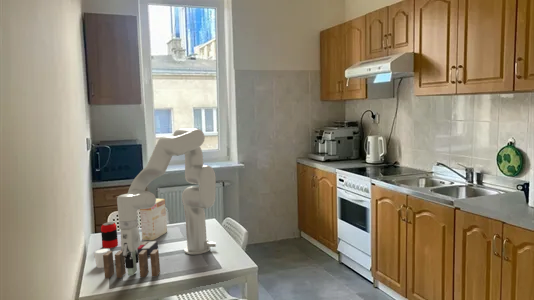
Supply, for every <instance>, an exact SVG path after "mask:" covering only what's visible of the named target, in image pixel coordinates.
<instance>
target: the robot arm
mask: <svg viewBox="0 0 534 300" xmlns="http://www.w3.org/2000/svg"><path fill="white" fill-rule="evenodd" d="M204 142H205V134H204V132H203V131H202V130H201V129H199V128H178V129H175V131H174V133H173V135H172V136H162V137H160V138H159V139H158V140H157V142H156V145H155V146H154V149H153V151H152V153H151V154H150V155H151V156H150V158H149V160H148V162H147V165H146V166H145V167H144V168H143V169H142V170H140V172H139V173H138V174H137V175H136V176H135V178H134V179H133V180H132V182H131V184H130V186H129V189H128V190H127V191H128V192H127V193H124V194H120V195H118V196H117V198H116V203H117V204H116V205H117V215H118V226H119V229H120V247H121V249H122V252H123V256H124V257H125V269H128V268H133V267H134V265H133V259H132V252H134V251H135V252H136V253H138V250H137V248H138V247H139V246H140V244H141V243H140V242H141V237H140V229H139V220H138V219H139V218H138V211H140V209H149V208H151V207H153V206H154V204H155V203H156V199H157V198H156V195H155V194H154V193H153V192H150V191H147V187H148V186H149V184H150V183H151V182H152V181H154V180H157V179H158V178H160V177H161V176H164V174H166V172H167V169H168V167H169V165H170V162H171V160H172V157H173V156H174V157H177V156H182V155H184V161H185V162H184V178H185V181H186V182H187V183H189V184H192V186H188V187H186V188H184V190H183V191H182V194H181V200H182V205H183V208H184V209H183V210H184V217H185V218H184V219H185V232H186V244H187V246H186V247H184V249H183V250H184V253H185V254H187V255H192V256H193V255H195V256H196V255H202V254H205V253H208V252H209V251H210V250H211V248H216V246H217V245H216V244H217V243H216V242H215V241H209V239H208V238H207V224H206V213H205V209H210V208H212V207H213V205H214V204H215V202H216V192H217V191H216V187H217V186H216V184H217V183H216V181H217V180H216V179H217V178H216V173H215V170H214V168H213V167H212V166H210V165H208V164H204V158H203V157H204V155H203V151H202V148H201V146H202V145H203V143H204ZM193 185H198V186H193ZM128 250H129V252H127V251H128ZM127 253H130V255H129V254H127ZM136 264H139V256H138V254H136Z"/></svg>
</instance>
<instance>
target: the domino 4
mask: <svg viewBox="0 0 534 300" xmlns="http://www.w3.org/2000/svg"><path fill="white" fill-rule="evenodd" d="M148 259H149V257H148V256H147V250H142V251H141V252H140V253H139V254H138V267H139V277H140V278H146V276H147V275H148V274H149V273H148V272H149V260H148ZM147 273H148V274H147Z"/></svg>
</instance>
